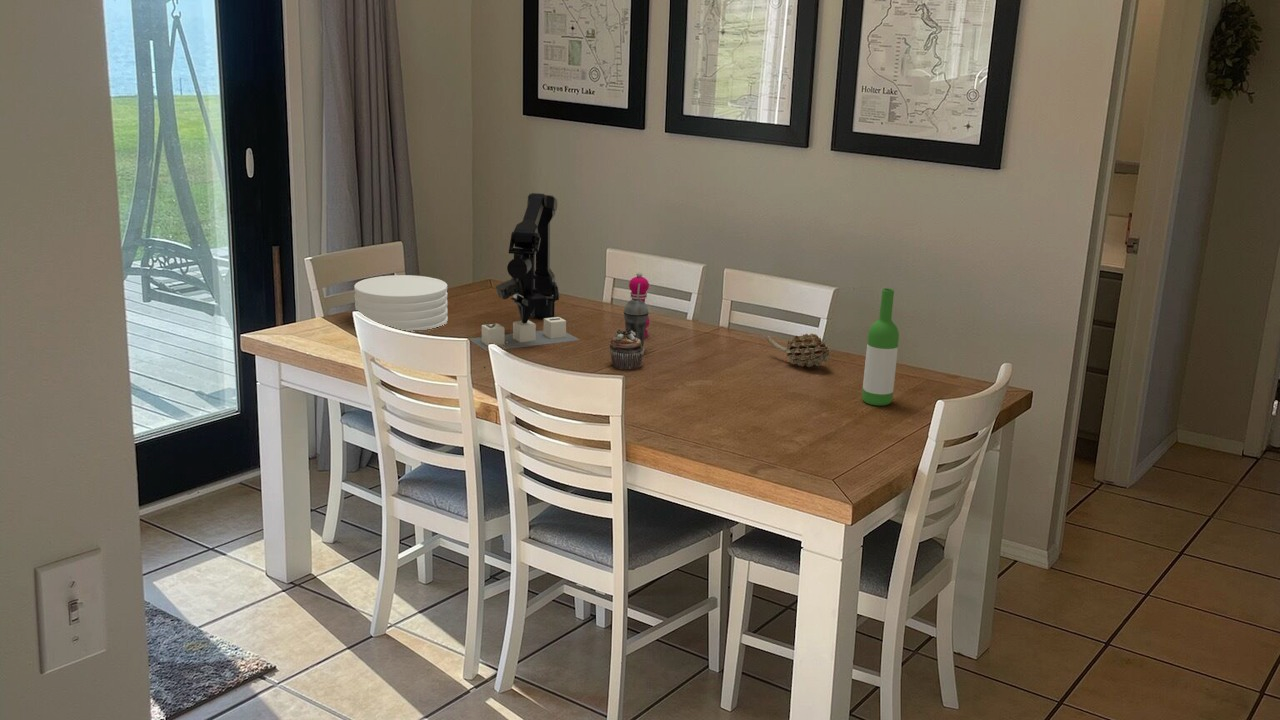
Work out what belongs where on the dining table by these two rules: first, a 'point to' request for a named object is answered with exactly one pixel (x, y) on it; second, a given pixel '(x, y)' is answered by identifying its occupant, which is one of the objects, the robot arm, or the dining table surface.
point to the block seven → (493, 334)
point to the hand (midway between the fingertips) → (524, 323)
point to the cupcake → (626, 350)
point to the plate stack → (403, 301)
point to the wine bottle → (881, 355)
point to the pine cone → (805, 350)
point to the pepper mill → (642, 291)
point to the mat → (514, 343)
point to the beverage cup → (636, 317)
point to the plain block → (524, 331)
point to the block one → (554, 327)
